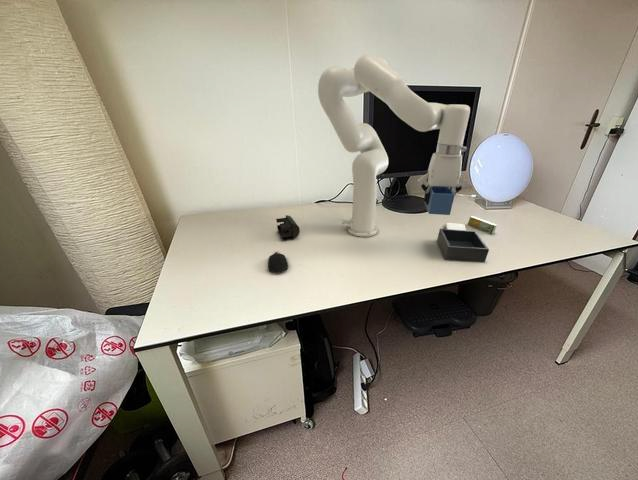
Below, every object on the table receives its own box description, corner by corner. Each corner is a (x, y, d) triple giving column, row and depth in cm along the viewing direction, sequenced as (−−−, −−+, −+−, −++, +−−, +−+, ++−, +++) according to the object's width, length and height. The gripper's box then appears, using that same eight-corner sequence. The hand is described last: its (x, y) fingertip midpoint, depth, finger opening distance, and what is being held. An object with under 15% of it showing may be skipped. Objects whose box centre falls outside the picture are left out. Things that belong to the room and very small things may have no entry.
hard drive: (463, 227, 125) (468, 239, 115) (445, 225, 126) (447, 237, 116) (464, 224, 124) (469, 235, 114) (445, 222, 125) (448, 233, 115)
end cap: (300, 238, 110) (299, 223, 106) (283, 241, 108) (281, 225, 104) (294, 229, 118) (292, 214, 114) (277, 231, 115) (275, 216, 111)
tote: (445, 259, 100) (448, 246, 97) (437, 240, 113) (439, 228, 110) (484, 262, 99) (489, 249, 96) (471, 242, 112) (475, 230, 109)
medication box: (494, 233, 121) (498, 224, 119) (491, 234, 119) (495, 225, 117) (469, 223, 128) (472, 215, 126) (466, 224, 127) (469, 216, 125)
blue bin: (428, 213, 93) (432, 193, 90) (424, 203, 103) (427, 184, 99) (449, 215, 93) (454, 194, 89) (443, 204, 102) (447, 185, 98)
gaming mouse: (284, 251, 101) (283, 242, 99) (289, 273, 89) (288, 263, 87) (267, 253, 99) (265, 243, 97) (269, 276, 88) (267, 265, 85)
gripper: (473, 149, 90) (460, 202, 99) (419, 147, 91) (411, 199, 101) (480, 153, 83) (465, 209, 93) (422, 150, 85) (413, 206, 94)
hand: (437, 203), depth 97 cm, fingers closed on blue bin, 7 cm apart
